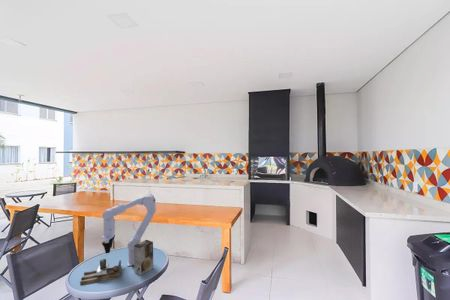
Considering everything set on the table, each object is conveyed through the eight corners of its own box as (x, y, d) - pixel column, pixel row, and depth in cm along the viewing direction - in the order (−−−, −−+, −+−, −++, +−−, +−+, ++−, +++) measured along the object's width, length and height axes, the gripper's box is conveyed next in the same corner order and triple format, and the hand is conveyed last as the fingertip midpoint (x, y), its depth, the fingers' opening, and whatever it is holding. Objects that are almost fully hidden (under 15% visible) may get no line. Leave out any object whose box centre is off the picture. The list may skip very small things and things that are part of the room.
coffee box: (146, 265, 133) (146, 239, 134) (153, 268, 130) (153, 241, 131) (133, 272, 126) (133, 244, 126) (141, 275, 122) (141, 247, 123)
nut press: (121, 268, 130) (121, 259, 130) (119, 277, 121) (119, 267, 121) (85, 274, 124) (85, 265, 124) (80, 284, 114) (80, 274, 114)
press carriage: (109, 266, 127) (109, 256, 127) (106, 273, 119) (106, 262, 120) (99, 268, 125) (99, 258, 125) (96, 275, 118) (96, 264, 118)
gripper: (103, 225, 140) (103, 246, 140) (99, 233, 126) (99, 256, 126) (115, 224, 142) (115, 244, 142) (112, 231, 129) (112, 254, 128)
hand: (108, 250), depth 134 cm, fingers open, 7 cm apart
